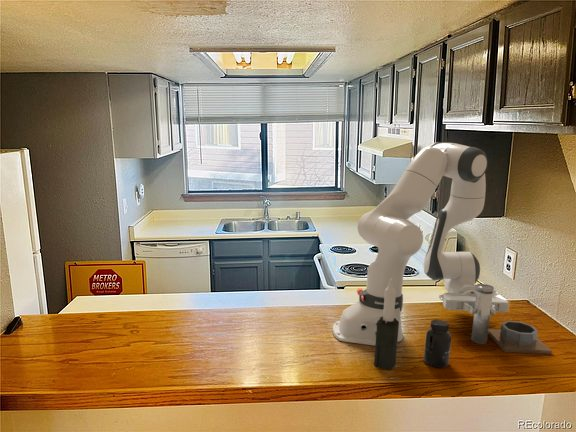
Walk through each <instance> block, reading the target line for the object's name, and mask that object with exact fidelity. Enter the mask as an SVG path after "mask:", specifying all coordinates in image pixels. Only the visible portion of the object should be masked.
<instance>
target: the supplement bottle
mask: <svg viewBox="0 0 576 432" xmlns="http://www.w3.org/2000/svg"><path fill="white" fill-rule="evenodd" d="M429 328H430V329H428V330H427V331H426V333H425V340H424V341H425V342H424V352H423V361H424V363H425V364H427V365H428V366H430V367H432V368H433V367H434V368H439V369H443V368H445V367H448V365H449V362H450V353H451V346H452V345H451V344H452V334H451V333H450V332H449V331H450V330H449V329H450V323H449V322H447V321H446V320H443V319H433V320H431V322H430V326H429Z"/></svg>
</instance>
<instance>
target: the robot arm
mask: <svg viewBox="0 0 576 432" xmlns="http://www.w3.org/2000/svg"><path fill="white" fill-rule="evenodd" d="M488 162H489V159H488V157H487V155H486V153H485V151H484V150H482V149H480V148H477V147H475V146H469V145H468V146H467V145H464V144H459V143H456V142H455V143H454V142H443V141H436V142H432V143H430V144H428V145H427V146H425V147H423V148H422V149H420V150H419V151H418V153H416V155H415V156H414V157H413V158H412V160H411V161H410V162H409V164H408V165H407V166H406V168H405V169H404V172H403V173H402V174H401V176H400V177H399V179H398V181H397V183H396V184H395V185H394V187H393V189H392V190H391V192H389V194H388V195H387V196H386V197H385V198H384V199H383V200H382V201H381V202H380V203H379V204H378V205H377V206H376V207H375V208H373V209H371V210H370V211H368V212H366V213H364V214H363V215H362V216H361V217H360V218H359V220H358V223H357V232H358V234H359V236H360V237H361V238H362V240H364V241H365V242H366V243H368V244H369V245H372V246H374V247H376V248H378V249H377V250H378V251H377V254H376V258H375V260H374V261H373V262H371V264H369V266H368V267H367V275H366V287H365V289H364V290H363V288H361V287H358V288H357V289H356V293H357V295H358V301H356V302H355V303H353V304H352V305H350V306H348V307H346V308H344V309H343V311H342V314H341V316H340V319H339V320H337V321H335V322H334V324H333V325H332V333H333V335H334V337H335V339H337V340H338V341H339V342H345V343H354V344H360V345H369V346H373V347H374V346H375V344H376V331H377V321H378V320H379V319H380V317H382V316H383V311H384V298H385V290H386V288H387V287H388V285H389V283H390V279H393V281H392V282H393V286H394V289H395V290H396V298H395V311H394V318H395V319H396V320H397V321H399V328H398V340H397V343H398V342H401V341H402V340H403V339H404V332H403V327H402V310H403V303H404V295H403V294H402V293H403V284H404V283H403V282H404V275H405V271H406V267H407V264H408V262H409V260H410V259H411V257H413V256H414V255H416V254H417V253H418V252H419V251H420V249H421V248H422V246H423V242H424V235H423V232H422V229H421V228H420V227H419V226H418V225H416V224H415V223H413V222H411V220H409V218H411V217H412V216H414V215H415V214H417V213H420V212H422V211H423V210H424V209H425V208H426V207H427V205H428V204H429V201H430V199H431V198H432V196H433V194H434V193H435V192H436V189H437V188H438V186H439V184H440V183H441V180H442V179H443V177H446V178H448V179H452V180H451V187H450V194H449V199H448V202H447V203H446V205H445V206H444V208H442V209H440V210H439V212H438V213H437V216H436V220H435V223H434V226H433V230H432V233H431V238H430V243H429V245H428V249H427V252H426V255H425V257H424V261H423V272H424V274H425V275H426V276H427V277H428V278H430V279H431V280H432V281H441V280H443V284H444V289H445V290H446V292H444V293H443V294H442V295H441V294H439V296H438V298H439V299H440V300H441V301H442V305H443V307H444V309H446V310H449V311H466V312H468V313H469V314H473V315H474V314H476V308H475V301H476V292H477V290H476V286H477V284H476V283H477V282H478V280H479V278H480V275H481V274H480V273H481V266H480V265H481V264H480V262H479V260H478V258H477V256H475V254H474V253H473V252H472V251H444V246H445V242H446V238H447V236H448V233H449V232H450V231H451V229H454V228H455V227H457V226H459V225H462V224H464V223H467V222H470V221H472V220H473V219H476V218H477V217H478V216H479V215H481V214H482V212H483V210H484V206H485V201H486V189H487V188H486V187H487V184H486V183H487V181H486V172H487V169H488V164H489V163H488ZM509 306H510V302H509V300H508V299H506V298H505V297H504V296H502V295H501V294H500V293H498V292H497V291H496V289H494V292H493V294H492V303H491V312H490V316H491V315H494V316H496V313H505V314H506V313H508V312H509V309H510V307H509Z"/></svg>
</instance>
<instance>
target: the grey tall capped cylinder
mask: <svg viewBox="0 0 576 432" xmlns="http://www.w3.org/2000/svg"><path fill="white" fill-rule="evenodd" d="M476 285H477V286H476V290H477V292H476V301H475V308H476V314H473V322H472V329H471V331H472V332H471V336H470V337H471V338H470V339H471V341H472V342H473V343H476V344H479V345H480V344H481V345H486V344H487V343H488V335H489V334H488V329H490V328H489V326H490V320H491V319H490V318H491V315H490V312H491V303H492V294H493V292H494V290H495V286H493V285H490V284H486V283H477V284H476Z"/></svg>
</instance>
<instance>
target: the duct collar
mask: <svg viewBox="0 0 576 432" xmlns="http://www.w3.org/2000/svg"><path fill="white" fill-rule="evenodd" d="M538 332H539V330H538V328H536V327H535V326H533V325H532V324H528V323H525V322H522V321H515V320H506V321H503V322H502V323H501V325H500V329H499V328H498V329H497V328H496V329H495V328H489V329H488V335H489V337H490V338H491V339H492V340H493V341H494V343H496V345H498V347H499V348H500V349H501V350H502V351H503V352H504V353H516V354H517V353H519V354H520V353H521V354H536V355H537V354H538V355H540V354H541V355H552V354H553V349H551V348H550V347H549V346H547V344H545V342H543V341H542V340H541V339H540V338H538V334H539V333H538Z"/></svg>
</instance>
